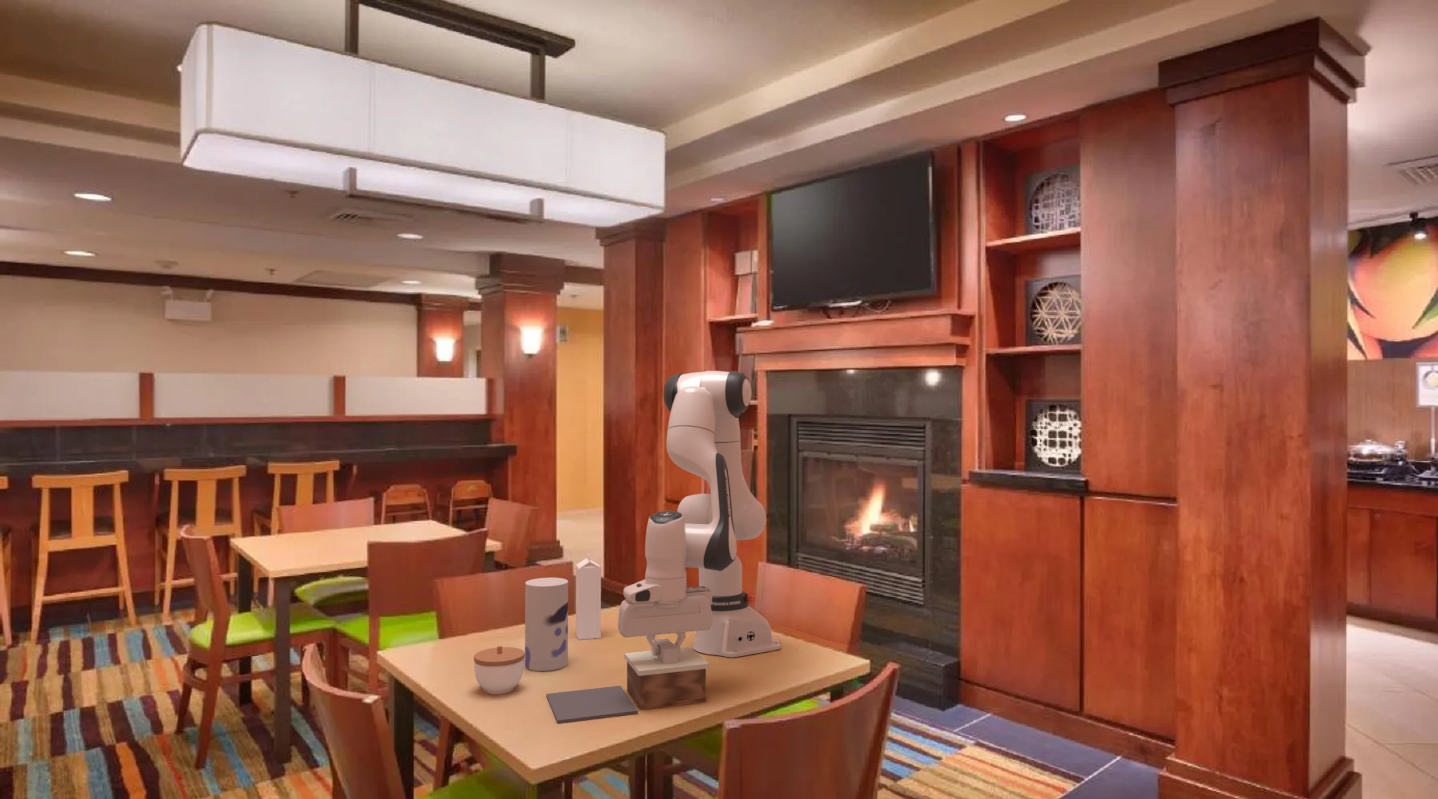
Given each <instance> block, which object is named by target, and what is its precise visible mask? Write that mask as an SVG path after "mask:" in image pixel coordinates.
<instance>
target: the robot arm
mask: <svg viewBox="0 0 1438 799" xmlns="http://www.w3.org/2000/svg"><path fill="white" fill-rule="evenodd" d="M752 395H753V394H752V387H751V383H750V379H749V378H748V376H747V375H746V374H745V373H743V372H740V371H735V370H731V371H723V370H722V371H721V370H706V371H696V372H695V371H694V372H690V373H684V372H681V373H680V372H679V373H677V374H673V375H671V376H670V377H669V378H668V379H667V380H666V382H665V383H664V387H663V401H664V405H665V408H666V409H667V410H668V412H670V414H669V419H668V424H667V425H668V426H667V432H666V452H667V455H668V457H669V458H670V460H671V461H672V462H673V463H674V464H675V465H676V466H677V467H678V468H680V469H682V470H684V471H686V472H687V473H690V474H693V475H695V476H697V477H700V478H702V479H703V480H705V481H706V482H707V483H708V487H709V489H710V491H709V492H710V493H697V494H691V495H687V496H684V498H682V499H681V500H680V502H679V503H678V507H677V510H676V511H675V510H663V511H657V512H655V513H653V514H651V515H649V517H648V521H647V525H646V534H645V546H644V549H645V550H644V551H645V553H644V556H645V560H646V568H645V573H644V579H642V580H640V581H637V582H635V583H632V584H630V585H627V586H625V587H624V588H623V593H622V594H623V596H624V598H625V599H624V600H622V602H621V603H620V606H619V610H618V621H617V631H618V633H619V634H620V636H622V637H623V638H637V637H646V640H647V642H648V643H649V645H650V647H651V649H650V651H651V653H652V655H653V656H657V655H660V647H659V646H658V645H655V644H654V640H656V635H667V634H668V635H669V634H676V635H677V639H676V640H675V642H674V643H673V644H674V645H675V646H676V647H677V648H678V653H680V648H681V646H682V644H683V642H684V641H685V639H686V633H690V632H695V637H694V641H693V644H692V649H693V650H695V651H696V652H697V653H701V654H706V655H711V656H723V657H727V658H737V657H742V656H743V657H744V656H749V655H754V654H755V655H756V654H759V653H760V654H761V653H765V652H771V651H777V650H780V649H781V647H782V646H781V641H780V640H779V639H778V638H776V637H775V636H773V635H772V628H771V625H770V623H769V621H768V620H767V619H766V618H765V617H764V616H763V615H761V614H760V613H759V612H758V611H756V610H755V609H754V608H753V607H751V606H750V604H754V603H755V602H756V597H755V595H753V594H750V593H749V594H748V593H747V592H745V591H743V564H742V561H741V559H740V557H739V556H738V555H737V552H738V547H737V541H746V540H753V539H756V538H759V537H760V536H761V534H762V533H763V531H764V530H765V527H766V525H767V524H766V523H767V513H766V510H765V508H764V506H763V505H762V503H761V502H760V501H759V500H758V499H757V498H756V497H755V496H754V495H753V494H752V492H751V490H750V489H749V488H750V487H749V486H748V484H747V481H746V480H745V477H744V473H743V466H742V465H743V464H742V452H741V451H742V449H741V442H742V441H741V429H740V420H739V418H740V416H741V414H743V413H745V412H746V410H747V409H748V408H749V406H750V404H751V400H752ZM686 568H696V569H697V568H698V586H687V585H688V583H687V581H688V580H687V570H686Z"/></svg>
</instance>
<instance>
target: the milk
mask: <svg viewBox="0 0 1438 799" xmlns="http://www.w3.org/2000/svg"><path fill="white" fill-rule="evenodd" d="M601 596H602V567H601V566H600V564H599V563H597V562H595V561H593V560H592V559H591V555H590V554H589V553H588V552H587V553H586V557H585V558H584V559H583V560H581V561H580V562H578V563H576V565H575V635H576V637H577V640H578V641H579V640H580V641H582V640H594V638H596V639H601V638H602V635H601V634H602V633H601V632H602V624H601V622H602V620H601V619H602V617H601V616H602V608H601V607H602V598H601Z"/></svg>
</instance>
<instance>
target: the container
mask: <svg viewBox="0 0 1438 799" xmlns="http://www.w3.org/2000/svg"><path fill="white" fill-rule="evenodd" d="M524 583H525V584H524V586H525V587H524V588H525V592H524V593H525V594H524V598H525V599H524V600H525V602H524V603H525V604H524V605H525V607H524V609H525V610H524V611H525V612H524V613H525V614H524V624H525V625H524V628H525V629H524V635H525V636H524V652H525V658H524V668H525V669H527V670H529V671H530V670H531V671H537V672H548V671H556V670H561V669H563V668H564V667H567V666H568V664H569V580H568V579H566V578H562V577H539V578H533V579H529V580H526V581H525V582H524Z"/></svg>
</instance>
